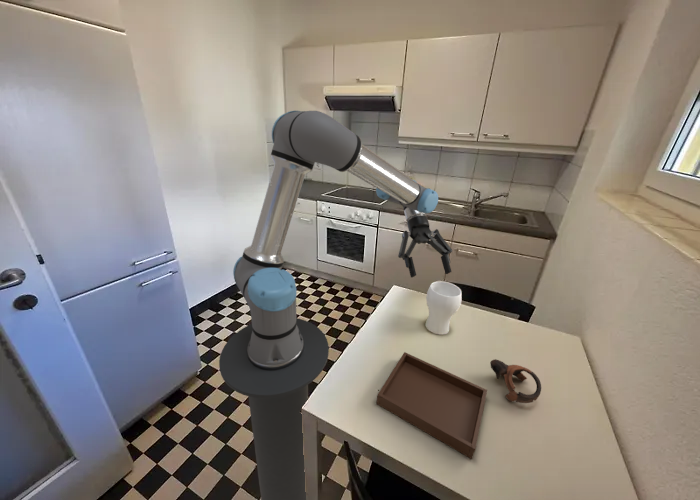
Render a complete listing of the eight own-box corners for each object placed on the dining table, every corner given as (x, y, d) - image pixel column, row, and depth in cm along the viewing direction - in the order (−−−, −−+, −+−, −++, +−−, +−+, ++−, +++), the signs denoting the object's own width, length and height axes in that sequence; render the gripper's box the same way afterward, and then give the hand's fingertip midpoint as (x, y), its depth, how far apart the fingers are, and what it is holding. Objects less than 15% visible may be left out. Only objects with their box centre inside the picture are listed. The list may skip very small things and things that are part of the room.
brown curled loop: (535, 385, 74) (551, 378, 67) (520, 416, 70) (536, 412, 64) (491, 355, 79) (502, 346, 73) (475, 382, 75) (486, 375, 69)
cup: (455, 323, 96) (465, 286, 90) (450, 342, 87) (461, 302, 81) (425, 313, 100) (432, 277, 94) (417, 330, 91) (425, 291, 85)
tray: (376, 403, 66) (377, 394, 65) (403, 360, 79) (404, 351, 78) (471, 459, 56) (475, 449, 55) (484, 398, 69) (487, 389, 68)
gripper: (389, 215, 96) (402, 274, 88) (451, 213, 102) (468, 268, 95) (381, 225, 102) (393, 280, 95) (440, 222, 109) (456, 274, 102)
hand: (431, 274), depth 95 cm, fingers open, 13 cm apart
